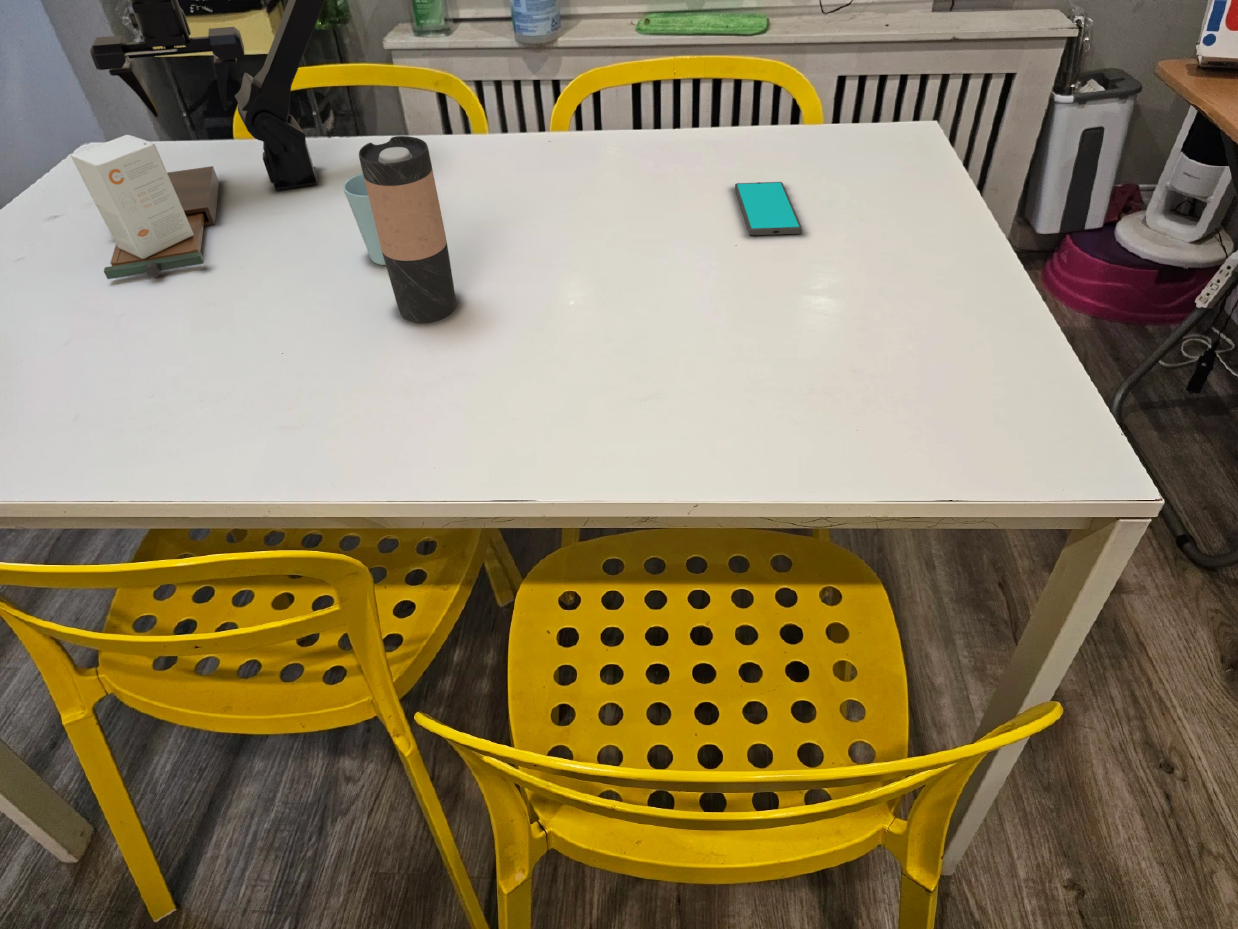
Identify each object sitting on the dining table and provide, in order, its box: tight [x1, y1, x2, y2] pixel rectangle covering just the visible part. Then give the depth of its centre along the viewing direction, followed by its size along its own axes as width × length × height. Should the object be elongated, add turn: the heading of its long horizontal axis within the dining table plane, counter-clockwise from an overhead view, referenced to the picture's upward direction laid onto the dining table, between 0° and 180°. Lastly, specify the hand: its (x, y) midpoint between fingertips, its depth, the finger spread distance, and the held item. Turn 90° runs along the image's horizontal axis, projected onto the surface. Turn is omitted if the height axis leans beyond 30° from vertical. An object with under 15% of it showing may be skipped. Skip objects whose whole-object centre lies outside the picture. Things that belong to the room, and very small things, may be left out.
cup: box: [342, 172, 386, 266], centre depth 106 cm, size 8×8×10 cm
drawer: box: [103, 212, 205, 280], centre depth 110 cm, size 16×12×2 cm
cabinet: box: [167, 165, 220, 227], centre depth 120 cm, size 15×13×3 cm
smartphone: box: [734, 181, 803, 236], centre depth 116 cm, size 7×1×15 cm
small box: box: [70, 134, 194, 259], centre depth 105 cm, size 8×6×13 cm
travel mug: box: [358, 135, 457, 324], centre depth 93 cm, size 8×8×20 cm
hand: (191, 112), depth 115 cm, fingers open, 9 cm apart
